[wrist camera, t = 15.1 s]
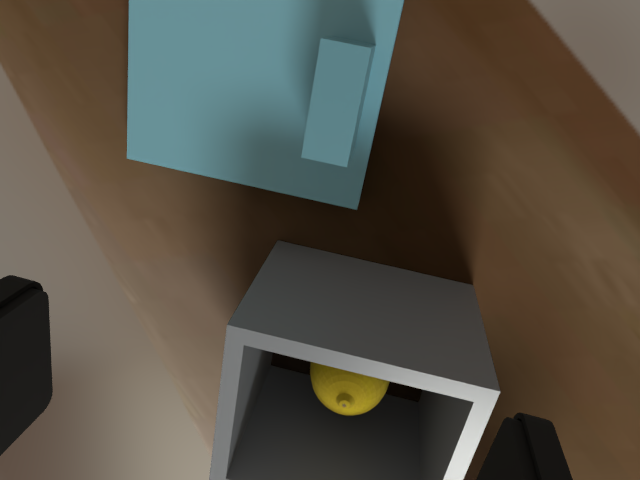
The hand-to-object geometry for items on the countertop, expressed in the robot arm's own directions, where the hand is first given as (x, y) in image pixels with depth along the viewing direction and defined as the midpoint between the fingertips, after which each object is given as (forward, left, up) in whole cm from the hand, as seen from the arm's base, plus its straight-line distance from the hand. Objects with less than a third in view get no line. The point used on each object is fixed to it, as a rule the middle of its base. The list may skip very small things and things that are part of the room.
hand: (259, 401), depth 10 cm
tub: (-3, +14, -24) cm, 28 cm away
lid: (+7, -3, -24) cm, 25 cm away
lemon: (-3, +14, -24) cm, 28 cm away
